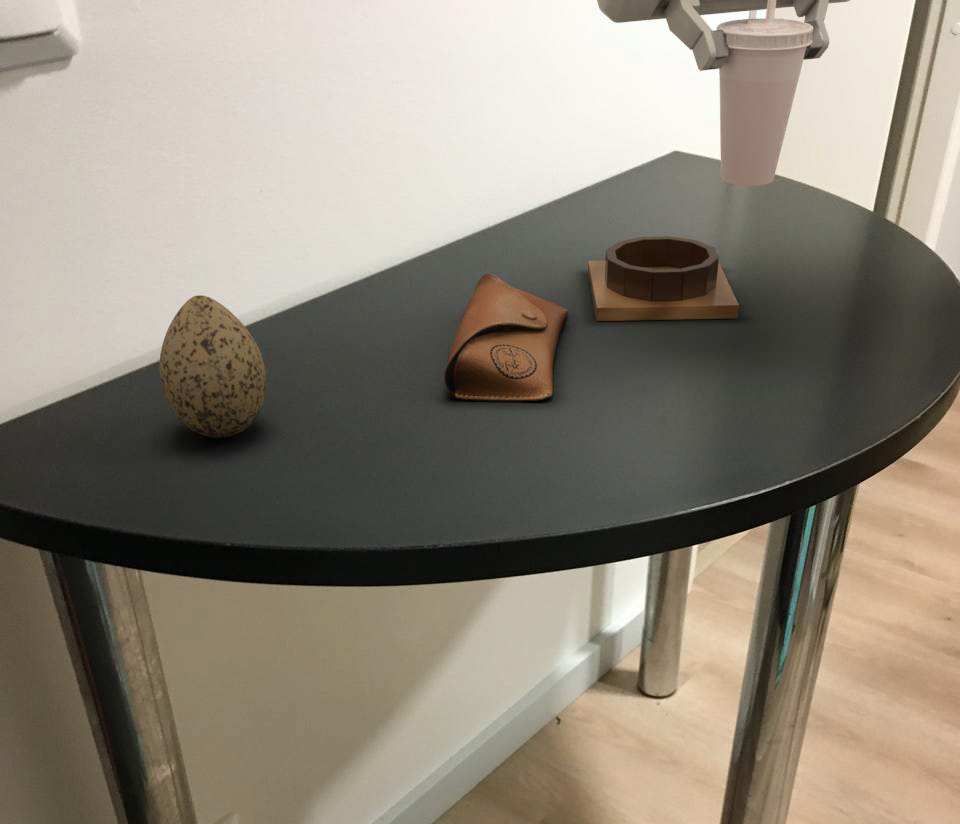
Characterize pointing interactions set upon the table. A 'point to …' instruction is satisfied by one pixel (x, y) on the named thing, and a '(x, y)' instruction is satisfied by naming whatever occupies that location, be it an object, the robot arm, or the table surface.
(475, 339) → the sunglasses case
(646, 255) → the dock pad
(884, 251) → the table surface
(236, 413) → the decorative egg
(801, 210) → the table surface
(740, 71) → the smoothie
